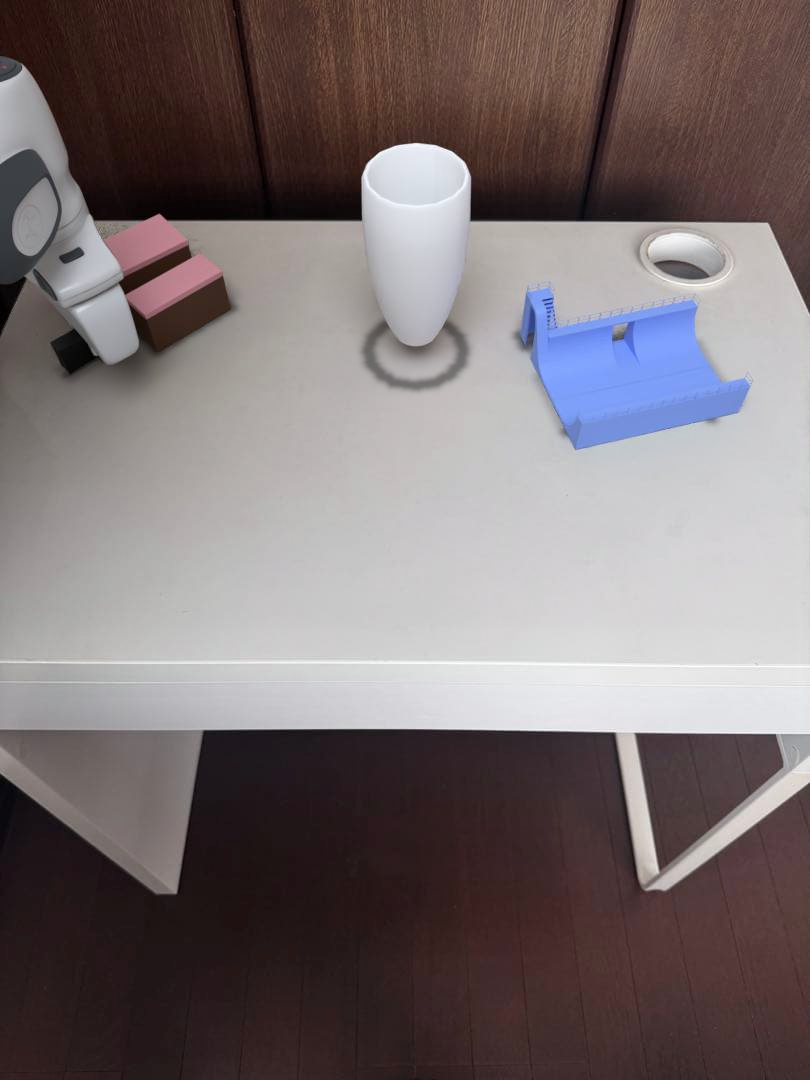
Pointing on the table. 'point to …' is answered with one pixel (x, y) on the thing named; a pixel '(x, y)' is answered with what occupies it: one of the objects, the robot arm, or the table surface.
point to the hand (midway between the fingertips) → (91, 341)
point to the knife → (72, 351)
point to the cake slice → (178, 302)
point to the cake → (148, 251)
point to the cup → (416, 235)
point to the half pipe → (626, 371)
